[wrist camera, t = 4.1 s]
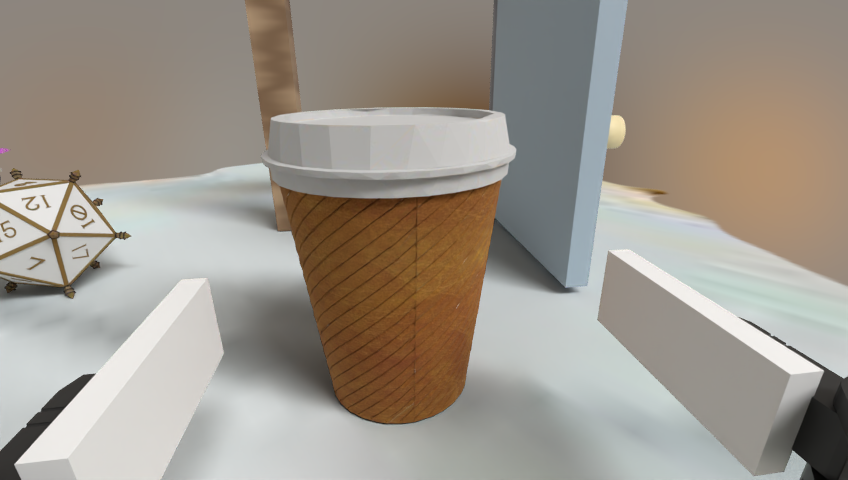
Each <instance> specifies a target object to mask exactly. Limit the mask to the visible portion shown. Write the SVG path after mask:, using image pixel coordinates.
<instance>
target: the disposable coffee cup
mask: <svg viewBox="0 0 848 480" xmlns="http://www.w3.org/2000/svg"><path fill="white" fill-rule="evenodd" d="M515 155H516V148H515V147H514V146H513V145H511V144H509V138H508V131H507V125H506V118H505V114H504V113H501V112H496V111H490V110H477V109H461V108H429V107H426V108H423V107H420V108H418V107H417V108H359V109H336V110H321V111H309V112H297V113H290V114H283V115H278V116H275V117H272V118H271V121H270V133H269V145H268V150H266V151H264V152H263V153H262V154H261V159H262V162H263V164H264V165H265V166H266V167H268V168H270V171H271V176H272V180H273V181H274V182H276V183H277V184H278V185H279V186H280V190H281V193H282V196H283V201H284V205H285V208H286V211H287V216H288V220H289V223H290V226H291V230H292V235H293V238H294V241H295V245H296V250H297V253H298V255H299V261H300V265H301V267H302V270H303V276H304V279H305V282H306V285H307V290H308V293H309V296H310V302H311V305H312V308H313V312H314V317H315V320H316V322H317V328H318V331H319V334H320V339H321V342H322V345H323V349H324V353H325V356H326V359H327V364H328V368H329V371H330V376H331V379H332V382H333V388H334V392H335V395H336V397H337V398H338V400H339V401H340V403H341V404H342V405H343V406H344V407H345V408H347V409H348V410H349V411H350V412H352V413H354V414H356V415H358V416H360V417H362V418H365V419H368V420H372V421H375V422H381V423H409V422H416V421H419V420H422V419H425V418H428V417H432V416H434V415H436V414H438V413H440V412H442V411H444V410H445V409H446V408H448V407H449V406H450V405H451V404H453V403H454V402H455V400H456V399H457V398H458V397H459V395H460V394H461V392H462V390H463V388H464V386H465V380H466V373H467V367H468V362H469V356H470V351H471V346H472V340H473V335H474V328H475V324H476V318H477V314H478V308H479V301H480V296H481V290H482V284H483V278H484V274H485V269H486V263H487V258H488V251H489V246H490V241H491V235H492V230H493V224H494V218H495V214H496V207H497V202H498V197H499V190H500V185H501V180H502V179H503V178H504V177H505V176H506V175H507V173H508V166H509V162H511V161H512V160H513V159H514V158H515Z"/></svg>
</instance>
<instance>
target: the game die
mask: <svg viewBox="0 0 848 480" xmlns="http://www.w3.org/2000/svg"><path fill="white" fill-rule="evenodd" d="M10 174H11V175H12V177H13V178H15V180H13V181H11V182H8V183H6V184H3V185H0V278H2V279H4V280H7V281H9V283H8V284H7V286H6V287H5V289H6V291H7V293H8V292H11V291H13V290H16V289H15V288H16V287H17V285H16V284H17V283H18V284H29V285H41V286H52V287H64V292H65V296H68V297H70V298H72V299H73V297H74V294H75V293H76V292H75V291H74V289H73V288H71V284H72V283H73V282H74V281H75V280H76V279H77V278H78V277H79V276H80V275H81V274H82V273H83V272H84V271H85V270H86V269H87V268H88V267H89V266H91V267H93V268H100V265H99V263H100V262H97V261H94V260H95V259H96V258H97V257H98V256H99V255H100V254H101V253H102V252H103V251H104V250H105V249H106V248H107V247H108V246H109V245H110V244H111V242H112V241H113V240H114V239H115V238H120V239H124V240H125V239H126V238H128V237H131V235H129V234H127V233H126V232H120V233H116V232H115V231H114V229H113V228H112V227H111V225H110V224H109V223H108V221H107V220H106V219H105V217H104V216H103V215H102V213H101V212H100V211H99V209H98V208H97V207H96V206H100V205H102V202H103V199H98V198H97V199H96V200H94V201H93V202H92V201H91V199H90V198H89V197H88V196H87V195H86V194H85V193H84V192H83V190H82V189H81V188H80V187H79V186H78V185H77V184H76V183H75V182H76V181H77V180H79V177H81V176H80V172H79V170H77V171H74V172H71V175H69V177H70V179H69V180H51V179H23V178H21V176H22V174H21V171H18V170H16V169H15V168H13V169H12V171H11V172H10Z"/></svg>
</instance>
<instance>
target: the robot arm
mask: <svg viewBox="0 0 848 480" xmlns="http://www.w3.org/2000/svg"><path fill="white" fill-rule="evenodd" d="M597 320H598V321H599V322H600V323H601V324H602V325H603V326H604V327H605V328H606V329H607V330H608V331H609V332H610V333H611V334H612V335H613V336H614V337H615V338H616V339H617V340H618V341H619V342H620V343H621V344H622V345H623V346H624V347H625V348H626V349H627V350H628V351H629V352H630V353H631V354H632V355H633V356H634V357H635V358H636V359H637V360H638V361H639V362H640V363H641V364H642V365H643V366H644V367H645V368H646V369H647V370H648V371H649V372H650V373H651V374H652V375H653V376H654V377H655V378H656V379H657V380H658V381H659V382H660V383H661V384H662V385H663V386H664V387H665V388H666V389H667V390H668V391H669V392H670V393H671V394H672V395H673V396H674V397H675V398H676V399H677V400H678V401H679V402H680V403H681V404H682V405H683V406H684V407H685V408H686V409H687V410H688V411H689V412H690V413H691V414H692V415H693V416H694V417H695V418H696V419H697V420H698V421H699V422H700V423H701V424H702V425H703V426H704V427H705V428H706V429H707V430H708V431H709V432H710V433H711V434H712V435H713V436H714V437H715V438H716V439H717V440H718V441H719V442H720V443H721V444H722V445H723V446H724V447H725V448H726V449H727V450H728V451H729V452H730V453H731V454H732V455H733V456H734V457H735V458H736V459H737V460H738V461H739V462H740V463H741V464H742V465H743V466H744V467H745V468H746V469H747V470H748V471H749V472H750V473H751V474H752V475H753V476H758V475H765V474H772V473H778V472H784V470H785V468H786V465H787V463H788V460H789V458H790V455H791V453H792V450H793V451H794V452H796V453H797V454H798V455H799V456H800V457H801V458H803V459H804V460H805V461H806V462H807V463H806V466H805V468H804V470H803V473H802V475H801V478H800V480H848V377H846V378H844V379H843V378H842V377H840V376H838V375H837V374H835V373H834V372H832V371H830V370H829V369H827V368H825V367H824V366H822V365H821V364H819V363H817V362H816V361H814V360H812V359H811V358H809V357H808V356H806V355H804V354H803V353H801V352H799V351H798V350H796V349H794V348H793V347H791V346H786V343H785V342H783V341H781V340H780V339H778V338H777V337H775V336H771V334H770V333H768V332H767V331H765V330H764V329H762V328H760V327H759V326H757V325H755V324H754V323H752V322H750V321H747V320H745V319H742V318H740V317H737V316H735V315H734V314H732V313H730V312H729V311H727V310H726V309H724V308H722V307H721V306H719V305H718V304H716V303H714V302H713V301H711V300H710V299H708V298H706V297H705V296H703V295H702V294H700V293H698V292H697V291H695V290H694V289H692V288H690V287H689V286H687V285H685V284H684V283H682V282H681V281H679V280H677V279H676V278H674V277H673V276H671V275H669V274H668V273H666V272H665V271H663V270H661V269H660V268H658V267H657V266H655V265H653V264H652V263H650V262H649V261H647V260H645V259H644V258H642V257H640V256H639V255H637V254H636V253H634V252H632V251H631V250H629V249H624V250H609V251H608V255H607V262H606V268H605V275H604V281H603V287H602V294H601V300H600V306H599V313H598V319H597ZM223 354H224V351H223V346H222V341H221V337H220V332H219V327H218V323H217V318H216V313H215V309H214V304H213V299H212V295H211V290H210V285H209V281H208V278H196V279H182V280H180V281H179V283H178V284H177V285H176V286H175V287H174V288H173V289H172V290H171V291H170V293H169V294H168V295H167V296H166V297H165V298H164V299H163V300H162V301H161V302H160V304H159V305H158V306H157V307H156V308H155V309H154V310H153V311H152V312H151V314H150V315H149V316H148V317H147V318H146V319H145V320H144V321H143V322H142V324H141V325H140V326H139V327H138V328H137V329H136V330H135V331H134V332H133V333H132V335H131V336H130V337H129V338H128V339H127V340H126V341H125V342H124V343H123V345H122V346H121V347H120V348H119V349H118V350H117V351H116V352H115V353H114V355H113V356H112V357H111V358H110V359H109V360H108V361H107V362H106V363H105V364H104V366H103V367H102V368H101V369H100V370H99V371H98V372H97V373H96V374H87V375H82V376H81V377H79V378H78V379H76V380H75V381H73V382H72V383H70V384H69V385H67V386H66V387H64V388H63V389H61V390H59V391H58V392H57V393H56V394H55V395H54V396H53V397H52V398H51V399H50V400H49V402H48V403H47V404H46V405H45V406H44V407H43V408H42V409H41V412H38V413H37V414H36V415H35V416H34V417H33V418H32V419H31V420H30V421H29V422H28V423H27V426H26V428H22V429H21V430H20V431H19V432H18V433H17V434H16V435H15V436H14V437H13V438H12V440H11V441H10V442H9V443H8V444H7V445H6V446H5V447H4V448H3V449H2V450H1V451H0V480H161V479H162V477H163V475H164V473H165V471H166V469H167V467H168V465H169V463H170V461H171V459H172V457H173V455H174V453H175V451H176V449H177V447H178V445H179V443H180V441H181V439H182V437H183V435H184V433H185V431H186V429H187V427H188V425H189V423H190V421H191V419H192V417H193V415H194V413H195V411H196V409H197V407H198V405H199V403H200V401H201V399H202V396H203V394H204V392H205V390H206V388H207V386H208V384H209V382H210V380H211V378H212V376H213V374H214V372H215V370H216V368H217V366H218V364H219V362H220V360H221V358H222V356H223Z"/></svg>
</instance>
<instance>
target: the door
mask: <svg viewBox="0 0 848 480" xmlns="http://www.w3.org/2000/svg"><path fill="white" fill-rule="evenodd" d="M627 2H628V0H494V12H493V36H492V58H491V82H490V106H489V110H490V111H496V112H501V113H504V114H505V118H506V125H507V131H508V138H509V144H511V145H513V146H514V147H515V148H516V155H515V158H514V159H513V160H512V161H511V162H509V166H508V173H507V175H506V176H505V177H504V178H503V179H502V180H501V185H500V190H499V197H498V202H497V207H496V214H495V219H496V220H497V221H498V222H499V223H500V224H501V225H503V226H504V227H505V228H506V229H507V230H508V231H509V232H510V233H511V234H512V235H513V236H514V237H515V238H516V239H517V240H518V241H519V242H520V243H521V244H522V245H523V246H524V247H525V248H526V249H527V250H528V251H529V252H530V253H531V254H532V255H533V256H534V257H535V258H536V259H537V260H538V261H539V262H540V263H541V264H542V265H543V266H544V267H545V268H546V269H547V270H548V271H549V272H550V273H551V274H552V275H553V276H554V277H555V278H556V279H557V280H558V281H559V282H560V283H561V284H562V285H563V286H564V287H565V288H567V287H579V286H587V284H588V277H589V270H590V263H591V256H592V249H593V242H594V235H595V228H596V221H597V214H598V207H599V199H600V192H601V185H602V178H603V171H604V164H605V157H606V150H607V148H617V147H619V146H620V145H621V143H622V142H623V140H624V137H625V122H624V120H623V119H622V117H621V116H618V115H615V116H614V115H613V116H611V115H612V107H613V101H614V94H615V87H616V79H617V73H618V65H619V58H620V51H621V44H622V37H623V30H624V23H625V16H626V9H627Z"/></svg>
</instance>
